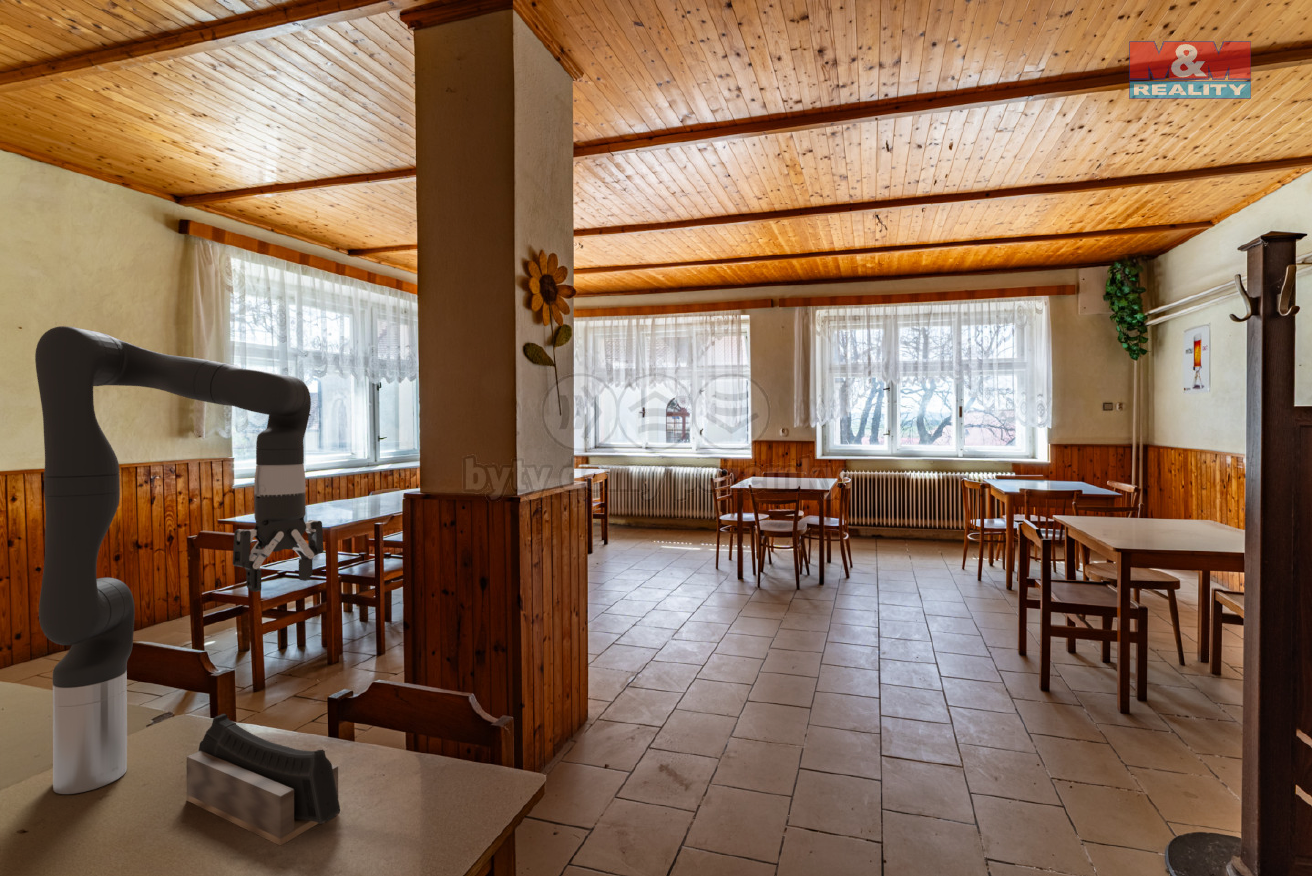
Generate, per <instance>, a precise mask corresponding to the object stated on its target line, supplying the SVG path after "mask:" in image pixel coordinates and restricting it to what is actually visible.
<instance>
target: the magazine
mask: <svg viewBox="0 0 1312 876" xmlns="http://www.w3.org/2000/svg"><path fill="white" fill-rule="evenodd" d="M264 739H265V738H263V737H262V738H261V737H259V736H257V735H255V734H253V733H252V732H250V731H248V730H246V729H245V728H242V727H241V726H239V725H238V724H237V723H236V722H234V721H233V720H230V719H229V717H228V714H226V713H222V714H220V715H216V716H215V717H214V718H213V719H212V722H211V726H210V727H209V728H208V729H207V730H206V731H205V734H204V736H203V739H202V740H201V741H200V742H199V746H198V750H197V752H199V751H202V752H205V753H207V754H210V755H212V756H214V757H217V758H219V759H222V760H224V761H227V762H229V763H232V764H234V765H236V766H239V767H241V768H244V769H246V770H249V771H251V772H253V773H256V774H258V775H261V776H263V777H266V778H268V779H270V780H273V781H275V782H278V783H280V784H283V785H285V786H288V787H290V788H292V789H294V818H299V819H304V820H309V821H314V822H318V824H319V825H322V824H324V823H328V822H330V821H331V820H332V819H334V818H335V817H337V815H338V814H340V812H341V806H340V802H339V794H338V795H337V790H336V784H335V779H334V774H333V769H332V764H333V763H332V762H331V761H330V759H328V757H327V756H326V751H325V750H324V749H317V750H302V749H297V748H296V749H295V748H293V747H289V746H287V745H286V746H285V745H283V744H279V743H276V744H275V742H273V743H272V741H271V742H269V741H270V740H268V741H267V739H265V740H264Z"/></svg>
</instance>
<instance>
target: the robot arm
mask: <svg viewBox="0 0 1312 876" xmlns="http://www.w3.org/2000/svg"><path fill="white" fill-rule="evenodd" d="M34 360H35V362H34V363H35V371H36V377H37V384H38V389H39V391H38V392H39V397H40V398H39V399H40V402H41V403H40V405H41V412H42V421H43V445H44V447H43V448H44V473H43V476H44V479H43V481H44V482H43V483H44V484H43V486H44V487H43V489H44V493H43V496H44V504H45V505H44V506H45V507H44V508H45V530H44V535H45V536H44V563H43V572H42V579H41V586H40V587H41V588H40V593H39V604H38V620H39V625H40V628H41V631H42V632H43V634H44V636H45V637H46V638H47V639H48V640H49V641H51V642H52V643H54V644H56V645H60V646H70V648H69V649H68V652H66V654H65V656H63V657H62V659H60V661H58V662H57V663H56V665H55V666H54V667H53V670H52V789H53V792H54V793H56V794H60V795H73V794H79V793H84V792H89V791H92V790H96V789H99V788H102V787H104V786H107V785H108V784H111V783H113V782H115V781H117V780H119V779H120V778H121V777H122V776H124V775H125V774H126V772H127V770H128V767H127V766H128V681H127V680H128V679H127V676H128V675H127V673H128V672H127V671H128V670H127V669H128V668H127V665H128V664H127V663H128V660H129V658H130V656H131V653H132V650H133V645H134V630H135V613H136V612H135V601H134V596H133V593H132V590H131V589H130V588H129V586H128V585H127V584H126V583H125V582H123V581H122V580H120V579H117V578H115V577H100V578H99V577H98V578H97V576H98V575H97V568H98V567H97V566H98V565H97V562H98V557H99V552H100V548H101V546H102V543H103V541H104V538H105V536H106V535H107V532H108V531H109V529H110V526H111V524H112V522H113V520H114V518H115V516H116V513H117V511H118V508H119V504H120V496H121V493H120V492H121V491H120V490H121V487H120V485H121V481H120V479H121V478H120V472H121V471H120V464H119V461H118V458H117V455H116V453H115V451H114V449H113V447H112V445H111V443H110V442H109V440H108V438H107V437H106V434H105V433H104V432H103V430H102V428H101V426H100V423H99V422H98V419H97V417H96V412H95V405H94V387H103V386H117V387H119V386H122V387H123V386H125V387H127V386H129V387H142V388H150V389H156V390H159V391H160V390H161V391H164V392H168V393H170V394H172V395H176V396H180V397H183V398H187V399H191V400H195V401H201V402H205V403H210V404H215V405H222V406H229V407H236V408H239V409H242V410H245V411H246V410H247V411H249V412H254V413H257V414H262V415H268V419H267V425H266V428H265V429H264V430H263V431H261V432H259V433H258V434H257V437H256V445H255V461H256V462H255V464H256V465H255V472H254V473H255V474H254V483H253V485H254V490H253V491H254V493H253V494H254V506H253V507H254V520H255V525H254V528H252V529H240V528H239V529H235V531H234V534H233V535H234V537H233V548H232V549H233V552H232V566H234V567H239V568H244V569H245V573H246V575H245V577H246V578H245V579H246V580H245V581H246V583H245V584H246V588H247V589H249V591H250V592H253V593H254V592H255V593H257V592H261V591H262V568H260V567H261V566H262V564H263V563H264V561H265V560H266V559H267V558H269V557H270V555H271V554H272V552H275V553H276V552H281V551H283V550H293V551H295V553H296V554H297V555H298V557H299V558H298V579H299V581H303V582H306V581H310V580H311V577H312V576H313V560H314V557H315V556H317V555H318V554H319V555H320V554H323V553H324V534H323V533H324V532H323V522H322V521H321V520H316V519H309V520H308V521H307V522H306V521H305V516H306V510H307V509H306V498H307V497H306V473H305V472H306V471H305V466H304V465H305V464H304V462H305V450H304V448H305V446H304V438H305V434H306V431H307V427H308V424H309V418H310V414H311V413H310V412H311V406H312V403H311V402H312V399H311V393H310V390H309V388H308V386H307V383H305V382H304V380H302V379H300V378H298V377H296V376H292V375H285V374H281V373H276V372H269V371H268V372H267V371H264V370H263V371H262V370H261V371H260V370H256V369H255V370H254V369H249V368H244V367H241V366H237V365H234V364H228V363H225V362H219V361H215V360H208V359H203V358H197V357H189V356H180V355H179V356H178V355H172V354H171V355H170V354H165V353H161V352H157V351H153V350H150V349H147V348H143V347H140V346H137V345H134V344H132V343H130V342H127V341H124V340H121V339H119V338H116V337H114V336H111V335H109V334H106V333H103V332H99V331H93V330H89V329H84V328H79V327H74V326H66V325H65V326H64V325H63V326H59V325H58V326H54V327H52V328H50V329H48V330H47V331H46V332H44V333H43V334H42V335H41V337H40V338H39V340H38V342H37V345H36V349H35V354H34ZM305 532H306V533H307V541H308V543H307V541H306V540H305V539H304V537H303V535H304V533H305ZM254 538H255V539H256V540H257V542H256V543H255V544H254V546H253V548H251V543H252V542H253V540H254Z"/></svg>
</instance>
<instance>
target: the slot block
mask: <svg viewBox="0 0 1312 876" xmlns="http://www.w3.org/2000/svg"><path fill="white" fill-rule="evenodd" d="M263 739H264V740H267V739H265V738H263ZM267 741H269V742H272V741H270V740H267ZM272 743H275V742H272ZM275 744H277V743H275ZM198 751H199V750H198ZM198 751H197V752H195V753H194V752H193V753H192V754H190V755H187V756H186V801H187V802H189V803H192V804H194V805H195V806H197V807H199V808H200V809H203V810H205V811H208V812H209V813H211V814H214V815H216V816H218V817H220V818H222V819H224V820H226V821H228V822H230V823H232V824H234V825H236V826H238V827H241V828H242V829H245V830H247V831H249V832H250V833H251V832H252V833H253V834H255V835H257V836H259V837H261V838H264V839H265V840H268V841H270V842H272V843H274V844H276V845H278V846H279V847H280V846H283V845H285V844H286V843H288V842H289V841H292V840H294V838H296V837H298V836H301V834H303V833H304V832H306V831H308V830H309V829H312V828H313V827H315V826H316V825H318V824H319V823H318V822H314V821H309V820H304V819H299V818H294V789H292V788H290V787H288V786H285V785H283V784H280V783H278V782H275V781H273V780H270V779H268V778H266V777H263V776H261V775H258V774H256V773H253V772H251V771H249V770H246V769H244V768H241V767H239V766H236V765H234V764H232V763H229V762H227V761H224V760H222V759H219V758H217V757H214V756H212V755H210V754H207V753H205V752H202V751H199V752H198ZM331 764H332V769H333V774H334V779H335V784H336V790H337V795H338V796H339V766H338V765H336V764H333V763H331Z"/></svg>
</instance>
